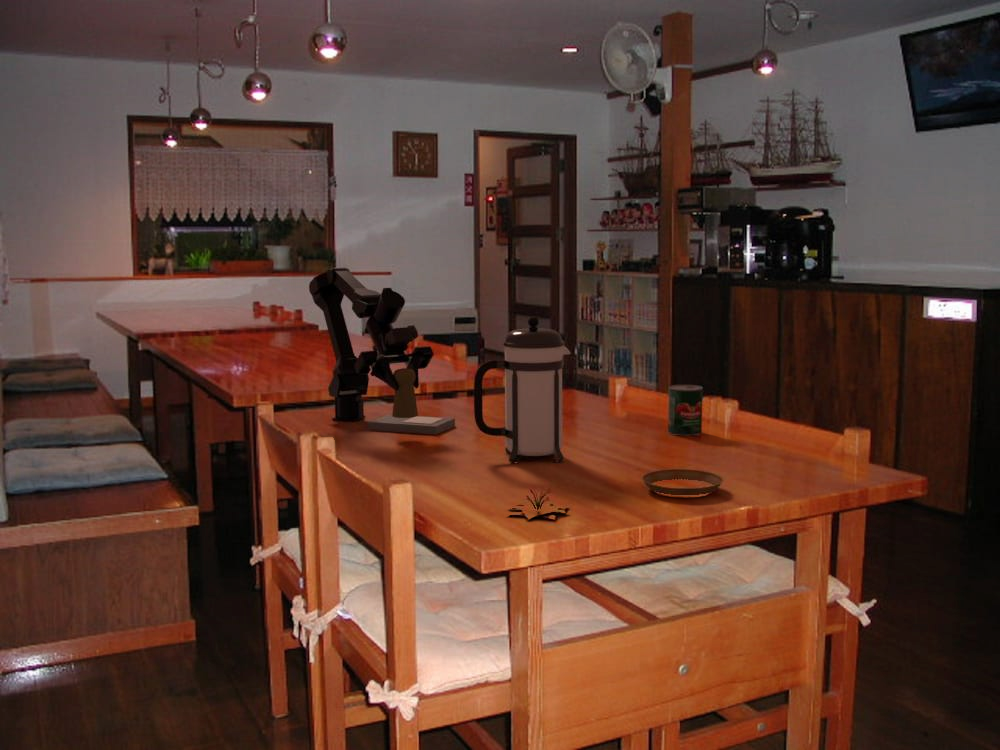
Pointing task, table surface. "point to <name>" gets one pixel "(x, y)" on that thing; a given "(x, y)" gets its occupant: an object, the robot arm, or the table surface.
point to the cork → (405, 394)
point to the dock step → (412, 424)
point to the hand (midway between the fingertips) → (407, 388)
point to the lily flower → (539, 501)
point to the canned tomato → (685, 410)
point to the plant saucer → (683, 474)
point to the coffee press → (528, 392)
